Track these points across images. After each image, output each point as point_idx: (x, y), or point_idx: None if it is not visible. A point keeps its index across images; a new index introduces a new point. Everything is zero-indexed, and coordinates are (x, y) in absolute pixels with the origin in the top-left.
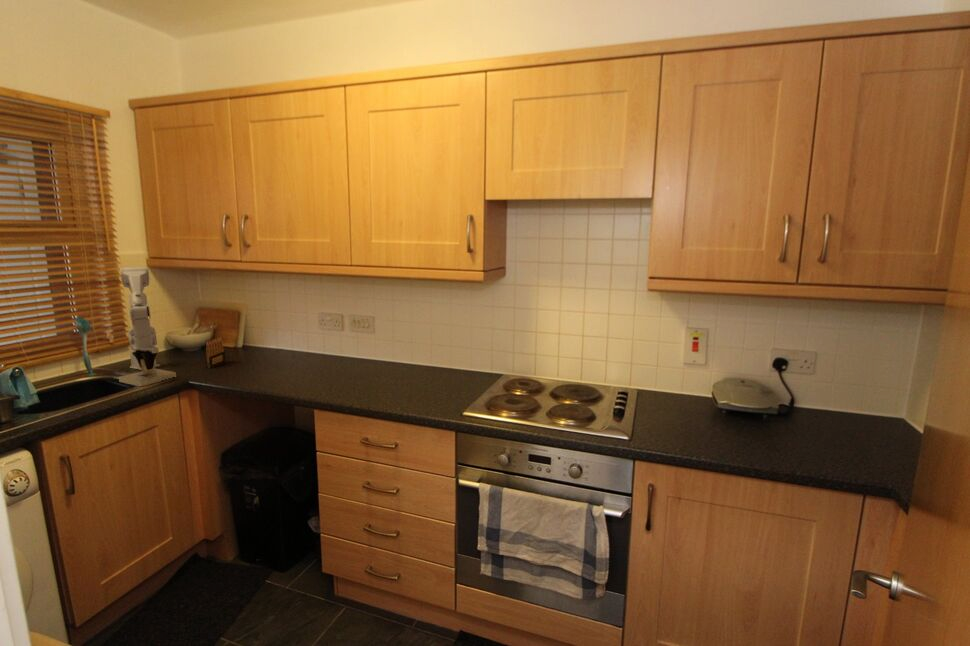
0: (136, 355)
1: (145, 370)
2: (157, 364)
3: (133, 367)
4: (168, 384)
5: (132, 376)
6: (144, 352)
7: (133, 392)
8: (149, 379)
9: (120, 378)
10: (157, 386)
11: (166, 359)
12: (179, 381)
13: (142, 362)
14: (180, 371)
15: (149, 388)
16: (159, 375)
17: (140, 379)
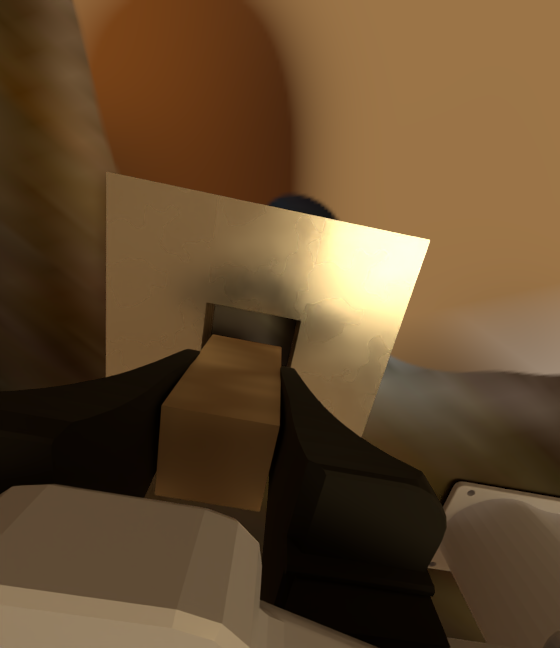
0: (301, 444)
1: (224, 348)
2: (445, 567)
3: (552, 501)
4: (4, 281)
5: (322, 284)
6: (268, 585)
7: (26, 10)
8: (106, 252)
9: (401, 235)
10: (24, 219)
11: (484, 639)
12: (11, 354)
13: (246, 397)
14: (214, 507)
15: (24, 156)
16: (137, 358)
17: (172, 227)
